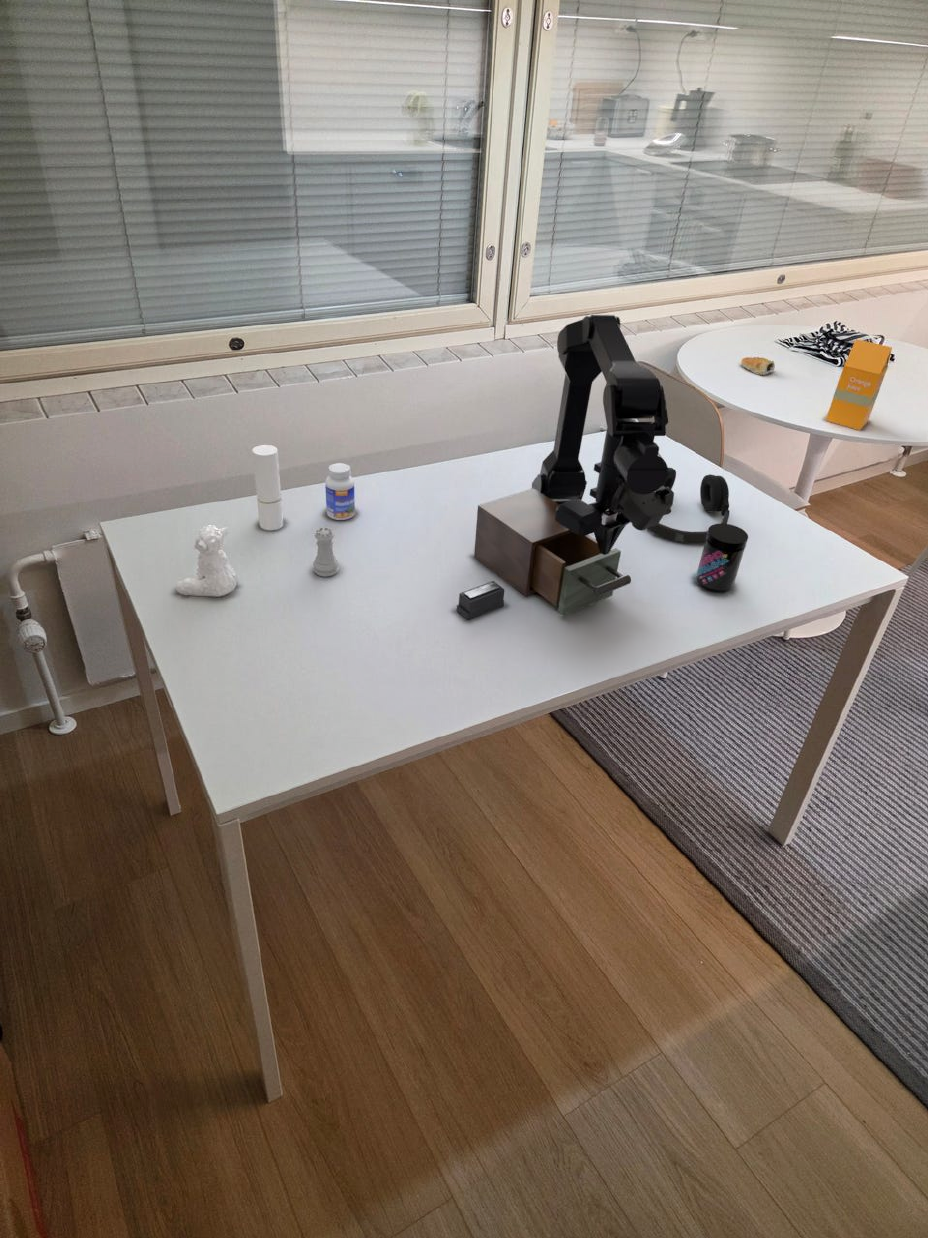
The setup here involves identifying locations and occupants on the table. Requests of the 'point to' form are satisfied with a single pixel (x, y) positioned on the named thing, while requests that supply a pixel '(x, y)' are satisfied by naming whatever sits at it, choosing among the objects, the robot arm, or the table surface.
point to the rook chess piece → (325, 554)
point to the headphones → (712, 500)
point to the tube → (268, 487)
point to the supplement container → (721, 557)
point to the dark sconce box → (480, 600)
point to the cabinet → (515, 535)
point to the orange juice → (859, 384)
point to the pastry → (758, 365)
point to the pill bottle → (340, 492)
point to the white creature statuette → (210, 566)
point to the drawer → (575, 572)
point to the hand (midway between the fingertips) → (604, 553)
